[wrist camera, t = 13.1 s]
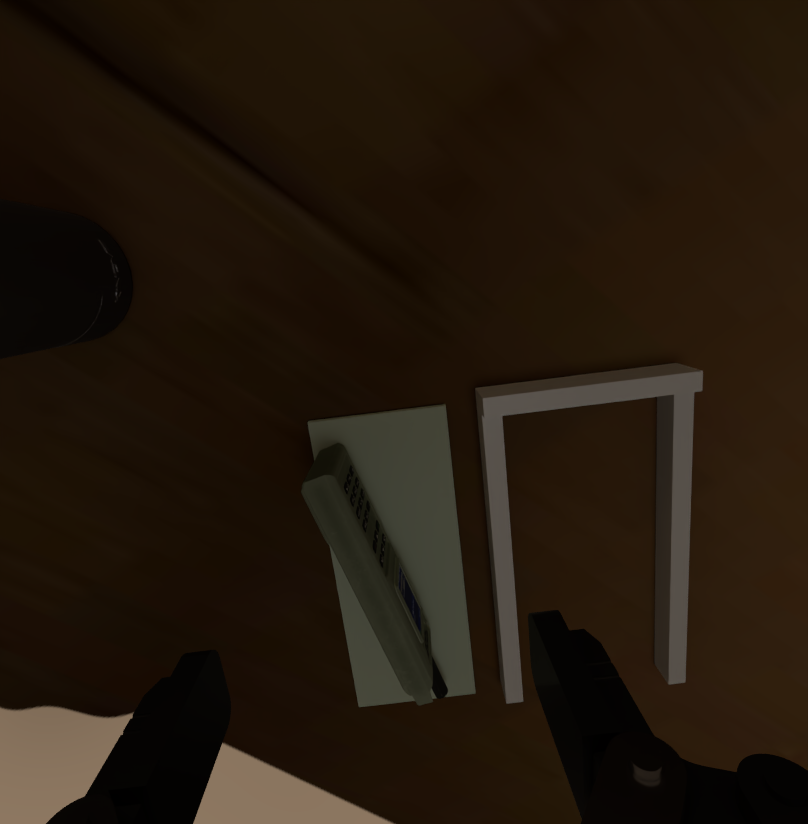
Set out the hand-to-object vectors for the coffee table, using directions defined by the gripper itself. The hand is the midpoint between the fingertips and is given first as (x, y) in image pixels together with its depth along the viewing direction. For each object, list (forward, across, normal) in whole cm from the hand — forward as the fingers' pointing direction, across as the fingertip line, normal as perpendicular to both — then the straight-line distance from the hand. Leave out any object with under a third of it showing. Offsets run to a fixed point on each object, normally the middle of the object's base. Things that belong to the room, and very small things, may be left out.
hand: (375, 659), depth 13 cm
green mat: (+28, +1, +15) cm, 32 cm away
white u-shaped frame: (+28, -15, +15) cm, 35 cm away
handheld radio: (+28, +2, +15) cm, 32 cm away
